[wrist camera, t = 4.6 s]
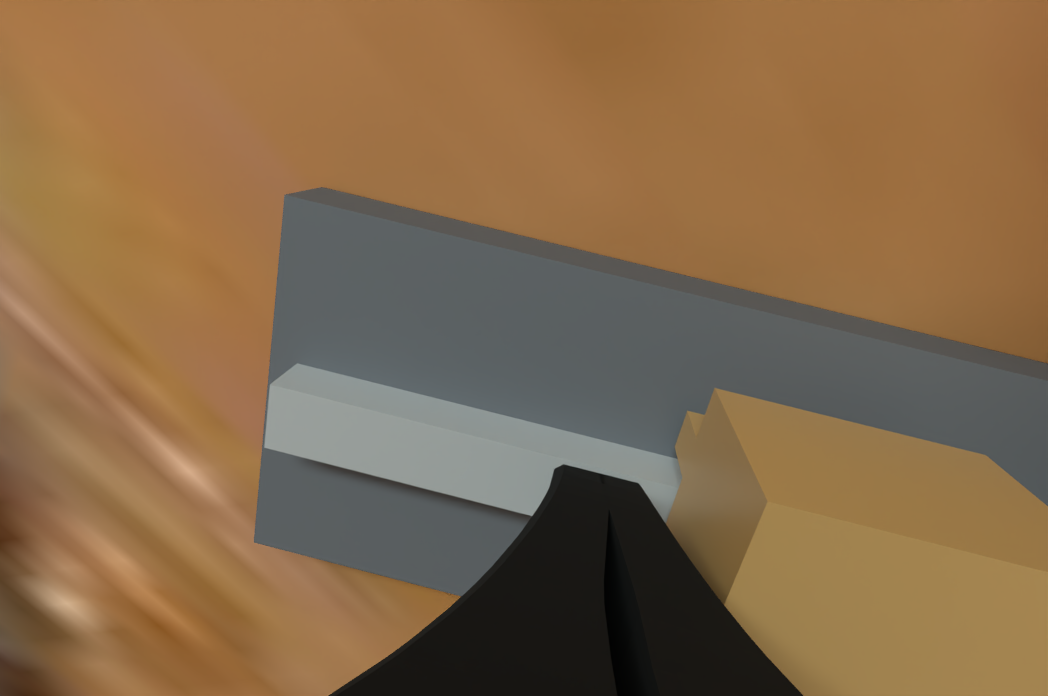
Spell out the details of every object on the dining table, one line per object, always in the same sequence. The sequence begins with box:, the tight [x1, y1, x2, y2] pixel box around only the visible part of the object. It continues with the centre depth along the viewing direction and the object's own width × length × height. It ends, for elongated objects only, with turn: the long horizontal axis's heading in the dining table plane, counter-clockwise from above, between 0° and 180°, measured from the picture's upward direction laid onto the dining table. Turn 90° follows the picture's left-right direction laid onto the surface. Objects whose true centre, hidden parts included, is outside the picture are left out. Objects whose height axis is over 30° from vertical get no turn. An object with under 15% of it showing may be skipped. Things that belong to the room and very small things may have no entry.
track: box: [254, 187, 1048, 596], centre depth 10 cm, size 16×7×5 cm, turn 77°
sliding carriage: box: [666, 388, 1048, 696], centre depth 9 cm, size 4×5×4 cm
